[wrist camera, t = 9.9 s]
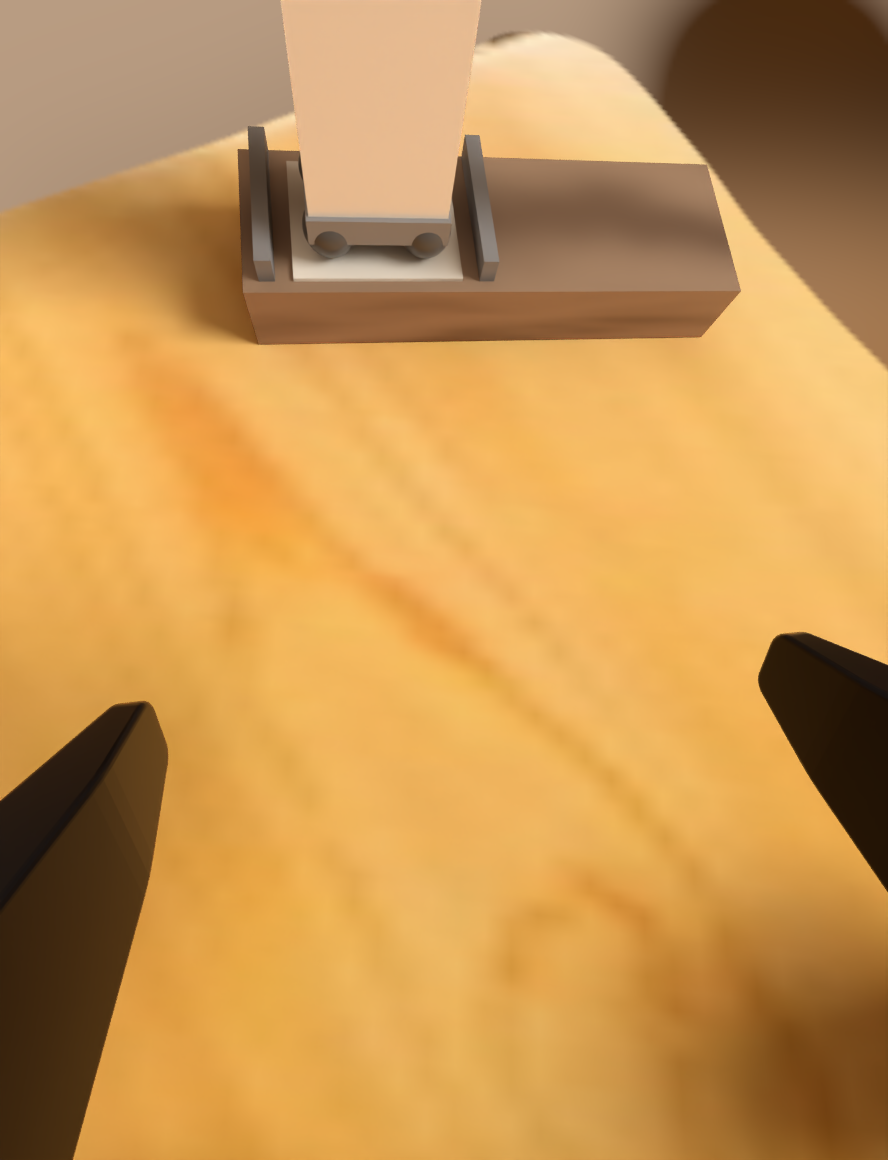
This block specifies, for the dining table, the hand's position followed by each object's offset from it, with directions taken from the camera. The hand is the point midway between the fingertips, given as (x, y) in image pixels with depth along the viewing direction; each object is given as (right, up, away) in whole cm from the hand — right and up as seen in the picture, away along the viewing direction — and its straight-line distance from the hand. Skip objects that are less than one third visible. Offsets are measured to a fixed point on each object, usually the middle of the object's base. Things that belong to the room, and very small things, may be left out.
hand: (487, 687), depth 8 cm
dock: (+1, +16, +18) cm, 24 cm away
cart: (-3, +16, +14) cm, 22 cm away
